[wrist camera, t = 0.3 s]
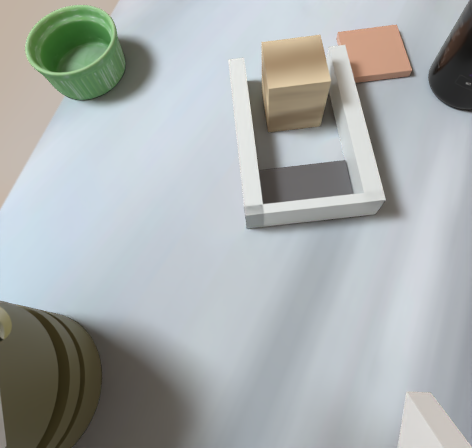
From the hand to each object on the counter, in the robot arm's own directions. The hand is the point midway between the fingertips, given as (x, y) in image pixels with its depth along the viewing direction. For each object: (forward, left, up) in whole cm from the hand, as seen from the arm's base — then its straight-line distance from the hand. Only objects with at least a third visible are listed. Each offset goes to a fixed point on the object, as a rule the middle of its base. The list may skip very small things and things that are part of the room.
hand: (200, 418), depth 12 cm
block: (+24, -7, -17) cm, 30 cm away
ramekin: (+32, +13, -17) cm, 39 cm away
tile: (+29, -16, -16) cm, 37 cm away
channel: (+20, -7, -16) cm, 27 cm away
